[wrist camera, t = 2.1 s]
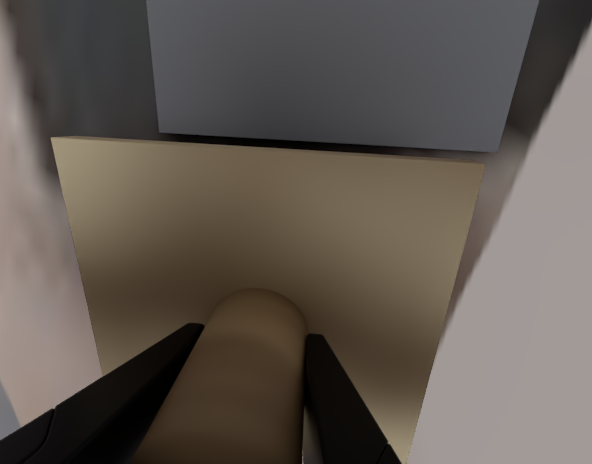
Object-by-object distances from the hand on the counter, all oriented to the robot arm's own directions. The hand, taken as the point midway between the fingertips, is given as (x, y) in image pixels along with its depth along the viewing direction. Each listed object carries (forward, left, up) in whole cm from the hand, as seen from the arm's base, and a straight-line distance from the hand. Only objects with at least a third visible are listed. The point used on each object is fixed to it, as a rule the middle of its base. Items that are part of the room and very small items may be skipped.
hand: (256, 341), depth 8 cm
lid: (0, 0, -1) cm, 1 cm away
